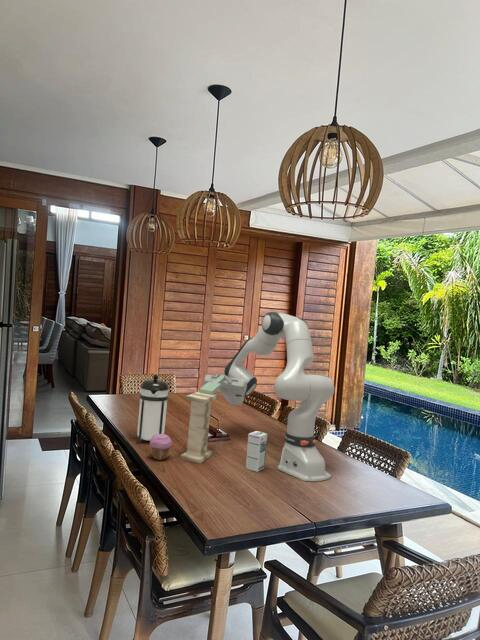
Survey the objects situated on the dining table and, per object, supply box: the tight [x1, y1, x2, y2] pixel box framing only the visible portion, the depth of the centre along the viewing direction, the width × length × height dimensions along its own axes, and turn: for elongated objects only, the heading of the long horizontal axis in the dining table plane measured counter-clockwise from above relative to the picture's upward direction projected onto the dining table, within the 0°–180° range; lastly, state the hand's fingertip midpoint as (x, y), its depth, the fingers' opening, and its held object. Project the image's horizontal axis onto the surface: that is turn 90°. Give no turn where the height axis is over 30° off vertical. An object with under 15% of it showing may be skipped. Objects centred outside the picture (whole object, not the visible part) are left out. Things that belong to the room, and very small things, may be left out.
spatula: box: [198, 374, 226, 395], centre depth 215 cm, size 21×6×2 cm, turn 161°
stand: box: [179, 390, 219, 464], centre depth 202 cm, size 13×9×26 cm
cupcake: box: [149, 433, 173, 461], centre depth 196 cm, size 9×9×10 cm
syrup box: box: [245, 430, 268, 473], centre depth 195 cm, size 6×6×14 cm
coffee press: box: [135, 374, 170, 444], centre depth 219 cm, size 17×16×30 cm
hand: (221, 376), depth 221 cm, fingers closed on spatula, 2 cm apart
